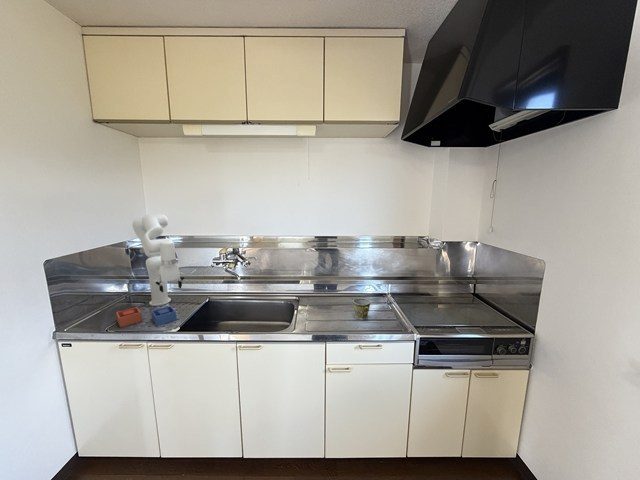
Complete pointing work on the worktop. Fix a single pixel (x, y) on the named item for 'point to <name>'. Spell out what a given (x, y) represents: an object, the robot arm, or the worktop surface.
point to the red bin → (128, 317)
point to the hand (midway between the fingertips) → (171, 289)
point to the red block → (128, 312)
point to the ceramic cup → (361, 308)
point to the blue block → (163, 311)
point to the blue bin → (163, 316)
